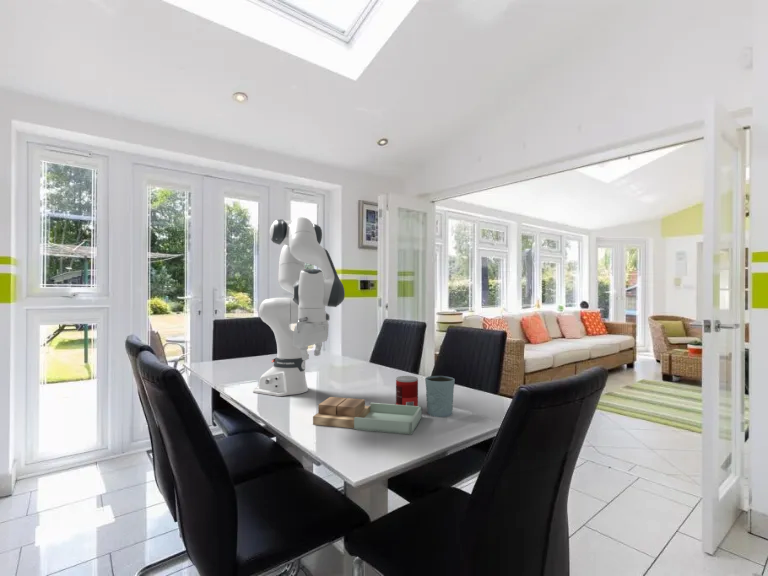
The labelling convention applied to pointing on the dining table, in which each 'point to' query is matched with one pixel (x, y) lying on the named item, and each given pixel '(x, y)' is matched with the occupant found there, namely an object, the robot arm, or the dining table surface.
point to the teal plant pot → (439, 395)
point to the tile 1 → (330, 405)
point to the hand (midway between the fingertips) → (311, 357)
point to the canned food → (407, 390)
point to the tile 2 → (351, 407)
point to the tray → (390, 418)
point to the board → (338, 419)
